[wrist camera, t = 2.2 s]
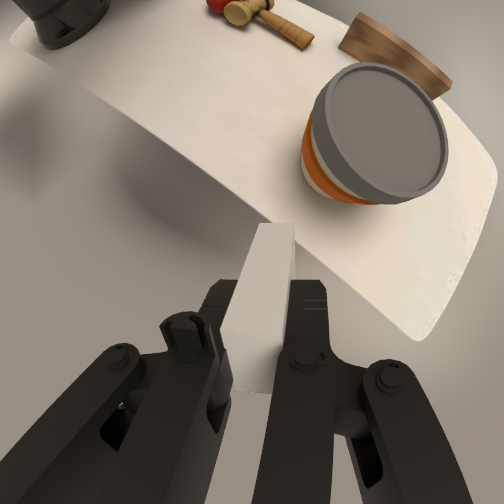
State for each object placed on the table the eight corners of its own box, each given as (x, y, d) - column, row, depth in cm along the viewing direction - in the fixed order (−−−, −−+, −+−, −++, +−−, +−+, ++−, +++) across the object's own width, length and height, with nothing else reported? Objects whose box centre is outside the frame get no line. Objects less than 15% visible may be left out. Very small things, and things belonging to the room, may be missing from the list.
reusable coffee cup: (334, 234, 33) (400, 236, 18) (265, 158, 32) (285, 104, 17) (393, 173, 33) (467, 147, 18) (332, 104, 32) (379, 42, 17)
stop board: (337, 47, 31) (355, 17, 23) (342, 41, 31) (359, 11, 23) (421, 107, 33) (450, 88, 25) (424, 100, 33) (452, 81, 25)
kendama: (317, 37, 33) (227, -13, 29) (329, 20, 27) (226, -34, 23) (290, 65, 34) (197, 13, 30) (299, 50, 28) (192, -7, 24)
